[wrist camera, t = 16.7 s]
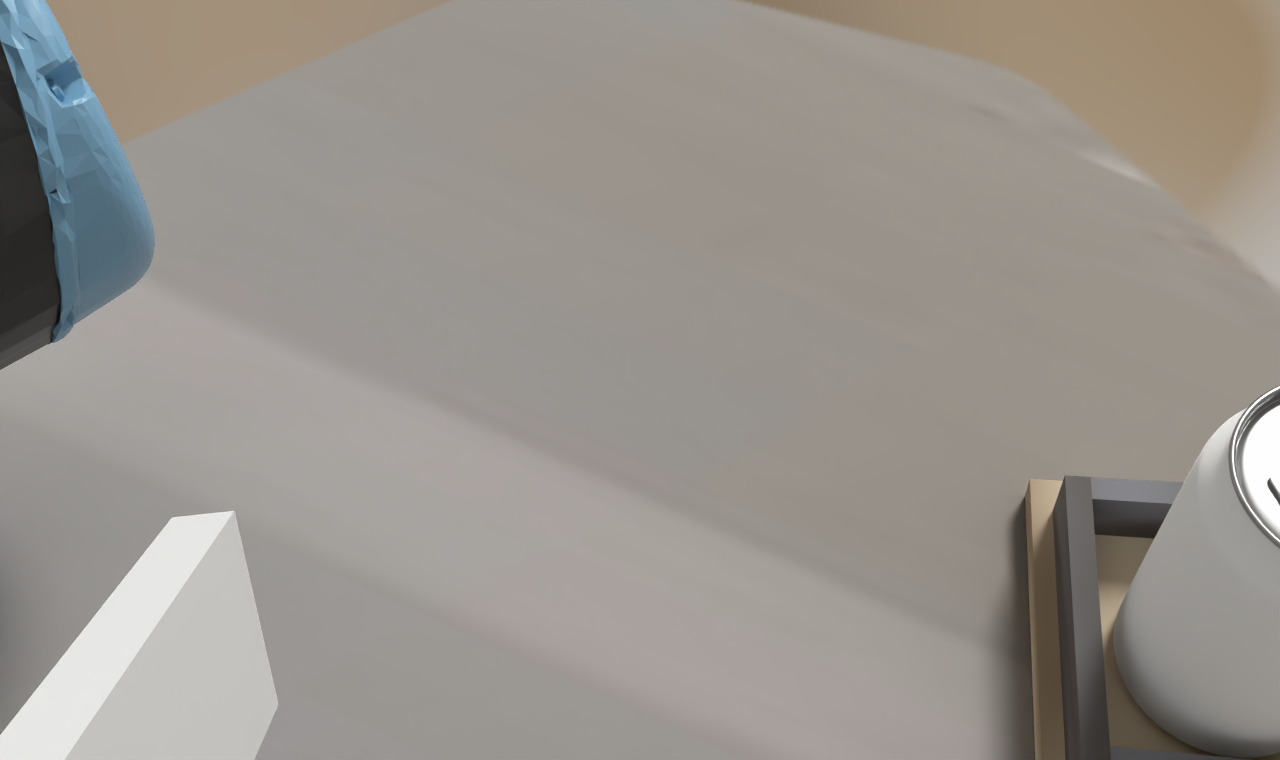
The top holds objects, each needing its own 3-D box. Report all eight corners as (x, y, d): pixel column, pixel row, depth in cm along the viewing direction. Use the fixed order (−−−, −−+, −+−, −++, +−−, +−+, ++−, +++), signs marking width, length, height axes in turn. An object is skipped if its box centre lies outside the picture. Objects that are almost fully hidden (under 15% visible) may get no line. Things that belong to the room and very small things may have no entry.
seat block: (1044, 987, 35) (1066, 967, 32) (1024, 495, 44) (1041, 442, 41) (1465, 1041, 33) (1531, 1026, 30) (1358, 516, 42) (1401, 462, 39)
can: (1374, 723, 37) (1582, 550, 27) (1176, 792, 36) (1312, 641, 26) (1254, 540, 40) (1397, 328, 30) (1072, 601, 40) (1157, 406, 30)
